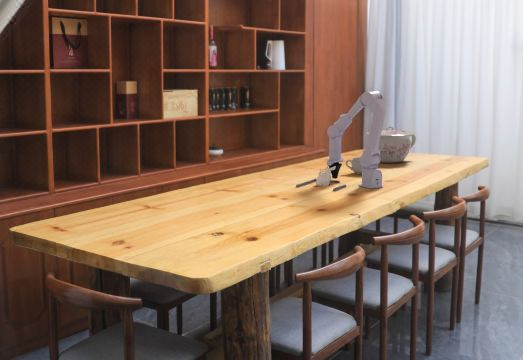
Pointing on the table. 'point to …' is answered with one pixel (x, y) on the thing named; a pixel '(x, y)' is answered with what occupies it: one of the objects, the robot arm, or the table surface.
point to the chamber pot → (394, 145)
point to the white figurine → (324, 177)
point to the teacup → (355, 165)
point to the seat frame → (329, 181)
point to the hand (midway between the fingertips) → (334, 178)
